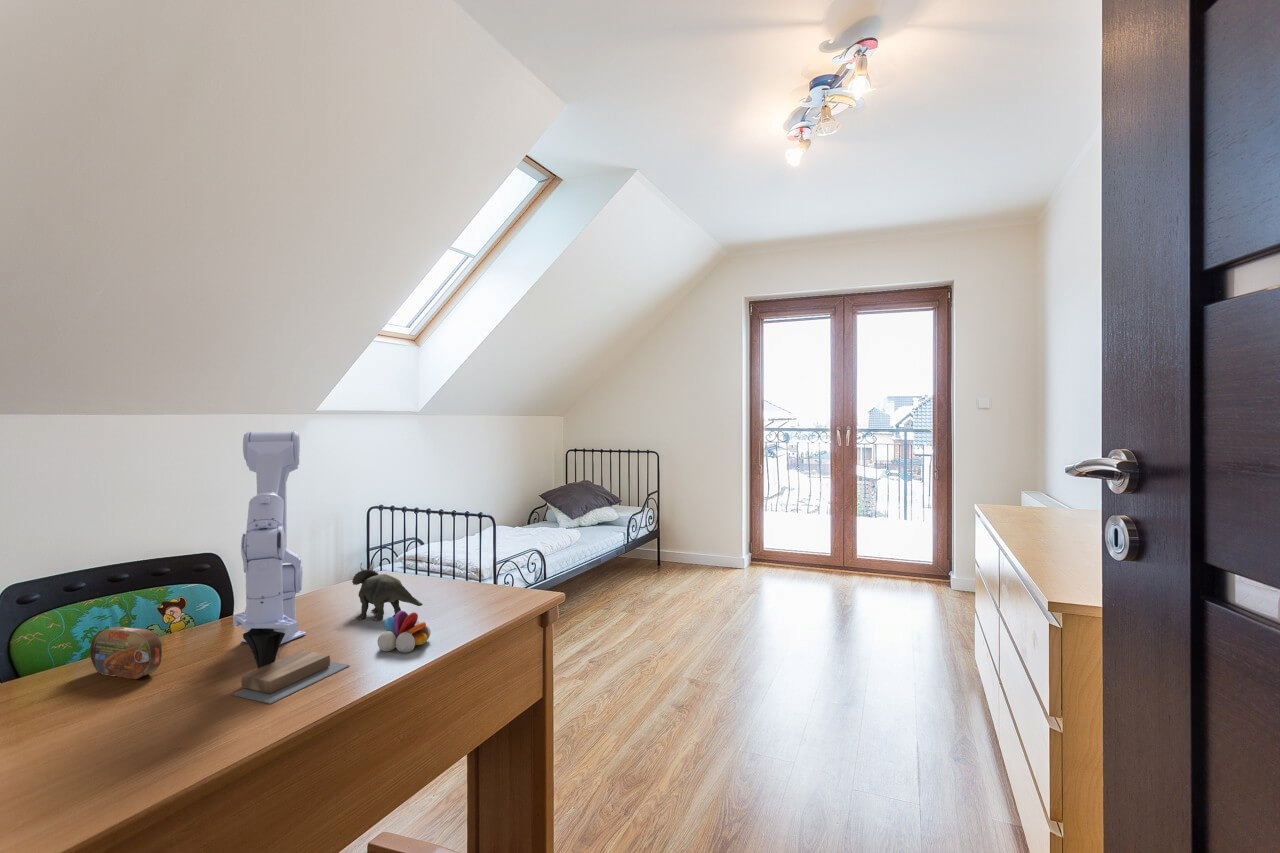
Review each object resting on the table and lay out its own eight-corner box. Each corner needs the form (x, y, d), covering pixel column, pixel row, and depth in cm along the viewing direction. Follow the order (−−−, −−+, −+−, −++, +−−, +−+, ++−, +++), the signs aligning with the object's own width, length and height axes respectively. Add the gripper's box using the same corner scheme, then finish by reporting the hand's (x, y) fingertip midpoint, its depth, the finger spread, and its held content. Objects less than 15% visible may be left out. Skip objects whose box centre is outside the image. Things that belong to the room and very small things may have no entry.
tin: (88, 673, 112) (87, 627, 112) (107, 666, 115) (106, 622, 115) (148, 682, 108) (147, 635, 107) (166, 675, 111) (165, 629, 110)
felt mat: (232, 695, 102) (232, 694, 102) (314, 659, 117) (314, 658, 117) (270, 704, 99) (270, 702, 99) (349, 666, 114) (349, 664, 114)
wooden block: (241, 675, 104) (269, 681, 102) (302, 650, 116) (329, 655, 113) (241, 688, 104) (270, 694, 102) (302, 661, 116) (330, 667, 113)
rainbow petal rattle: (414, 656, 119) (413, 619, 118) (370, 653, 120) (369, 617, 120) (436, 640, 127) (436, 606, 127) (395, 637, 129) (394, 603, 129)
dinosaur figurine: (427, 619, 140) (426, 571, 140) (395, 630, 133) (394, 579, 132) (369, 604, 152) (369, 559, 151) (337, 613, 144) (336, 567, 144)
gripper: (215, 596, 109) (217, 671, 110) (272, 605, 104) (273, 683, 104) (253, 586, 116) (254, 656, 116) (308, 593, 111) (309, 667, 111)
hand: (266, 668), depth 111 cm, fingers closed
